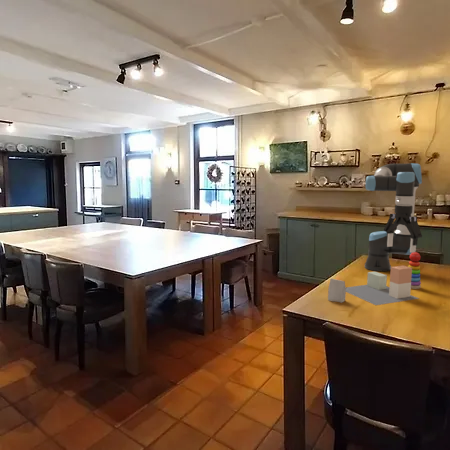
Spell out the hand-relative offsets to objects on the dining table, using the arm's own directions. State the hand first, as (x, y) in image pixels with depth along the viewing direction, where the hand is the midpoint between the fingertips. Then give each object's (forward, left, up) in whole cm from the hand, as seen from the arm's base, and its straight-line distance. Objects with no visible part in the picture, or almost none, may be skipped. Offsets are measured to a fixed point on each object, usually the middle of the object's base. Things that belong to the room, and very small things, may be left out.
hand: (400, 249), depth 175 cm
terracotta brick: (+2, -1, -15) cm, 16 cm away
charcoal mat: (-5, -8, -23) cm, 25 cm away
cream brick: (+2, -1, -22) cm, 23 cm away
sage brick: (-13, -1, -22) cm, 26 cm away
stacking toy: (-7, +17, -23) cm, 29 cm away
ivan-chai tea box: (-4, -33, -23) cm, 41 cm away
